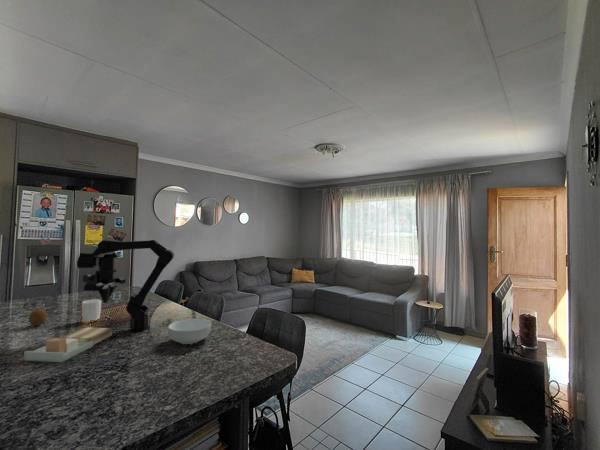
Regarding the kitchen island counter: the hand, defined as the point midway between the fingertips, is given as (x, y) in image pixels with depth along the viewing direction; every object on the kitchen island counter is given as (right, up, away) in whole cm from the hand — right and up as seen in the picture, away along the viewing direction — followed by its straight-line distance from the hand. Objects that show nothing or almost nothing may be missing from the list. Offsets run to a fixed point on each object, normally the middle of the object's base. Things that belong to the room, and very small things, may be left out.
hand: (105, 302), depth 129 cm
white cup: (-16, -13, +14) cm, 25 cm away
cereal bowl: (+41, -14, -9) cm, 44 cm away
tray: (-2, -13, -22) cm, 26 cm away
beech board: (-1, -13, -9) cm, 16 cm away
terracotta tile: (-2, -10, -22) cm, 24 cm away
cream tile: (-1, -12, -20) cm, 23 cm away
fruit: (-36, -13, +6) cm, 39 cm away
